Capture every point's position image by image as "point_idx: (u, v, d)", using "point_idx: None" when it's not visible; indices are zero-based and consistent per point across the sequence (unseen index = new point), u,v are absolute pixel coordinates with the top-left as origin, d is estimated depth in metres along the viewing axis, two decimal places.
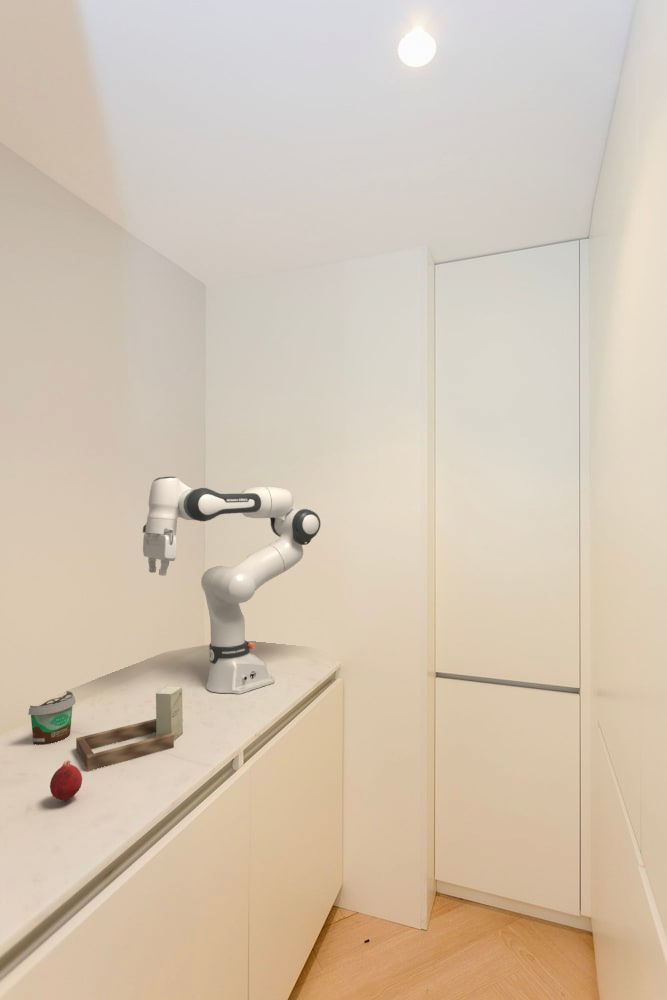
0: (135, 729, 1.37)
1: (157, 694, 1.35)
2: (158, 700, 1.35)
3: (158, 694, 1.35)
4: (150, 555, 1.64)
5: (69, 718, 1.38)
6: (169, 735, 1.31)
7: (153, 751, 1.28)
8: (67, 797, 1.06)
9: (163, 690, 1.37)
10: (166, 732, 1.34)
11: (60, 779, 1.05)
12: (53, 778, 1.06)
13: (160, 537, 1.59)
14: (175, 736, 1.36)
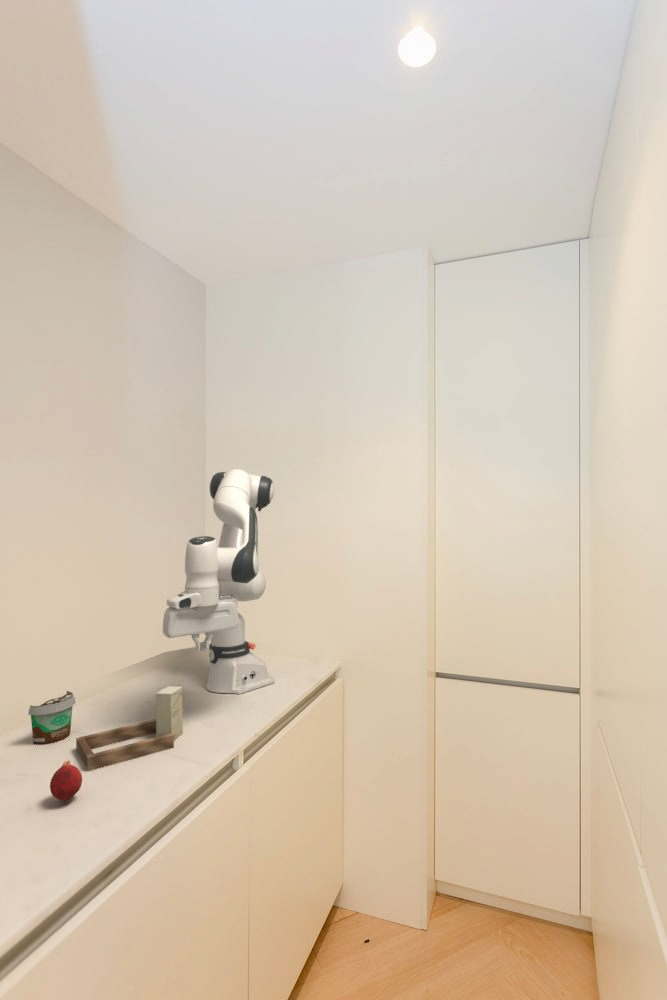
0: (135, 729, 1.37)
1: (157, 694, 1.35)
2: (158, 700, 1.35)
3: (158, 694, 1.35)
4: (196, 631, 1.40)
5: (69, 718, 1.38)
6: (169, 735, 1.31)
7: (153, 751, 1.28)
8: (67, 797, 1.06)
9: (163, 690, 1.37)
10: (166, 732, 1.34)
11: (60, 779, 1.05)
12: (53, 778, 1.06)
13: (223, 606, 1.45)
14: (175, 736, 1.36)
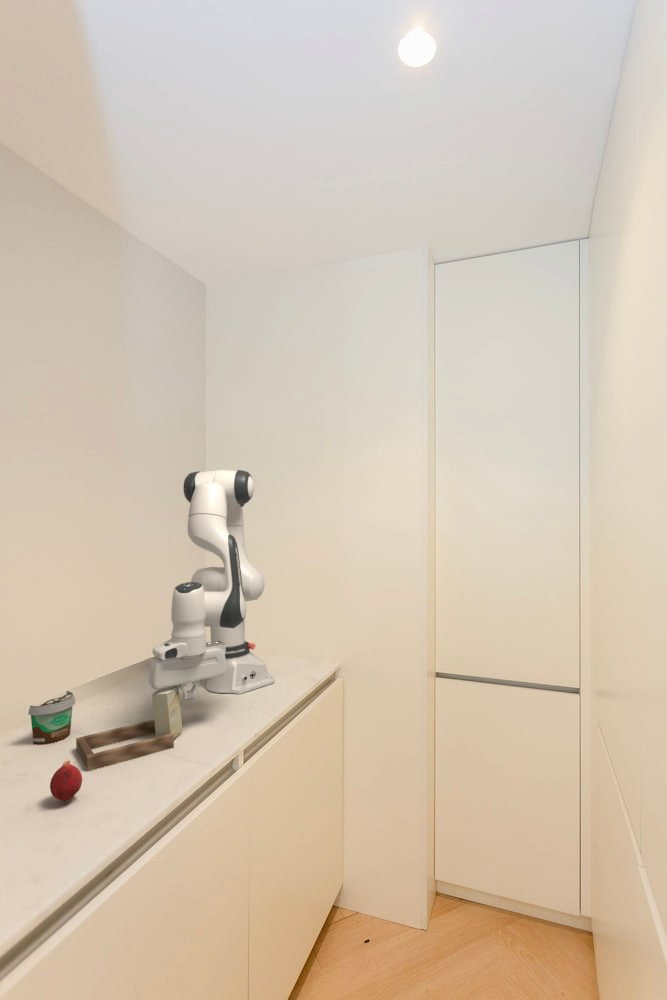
0: (135, 729, 1.37)
1: (153, 695, 1.34)
2: (155, 701, 1.34)
3: (154, 695, 1.34)
4: (182, 681, 1.38)
5: (69, 718, 1.38)
6: (169, 735, 1.31)
7: (153, 751, 1.28)
8: (67, 797, 1.06)
9: (159, 690, 1.37)
10: (165, 732, 1.34)
11: (60, 779, 1.05)
12: (53, 778, 1.06)
13: (210, 653, 1.42)
14: (174, 735, 1.36)
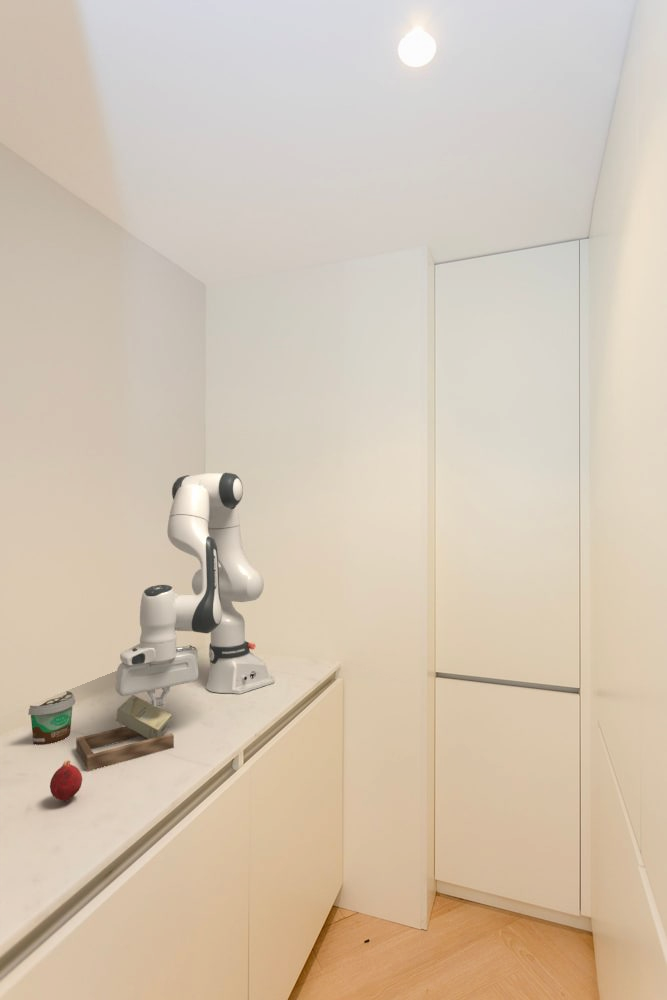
0: None
1: (116, 720, 1.36)
2: (121, 722, 1.36)
3: (116, 719, 1.36)
4: (151, 687, 1.33)
5: (69, 718, 1.38)
6: (169, 735, 1.31)
7: (153, 751, 1.28)
8: (67, 797, 1.06)
9: None
10: (148, 729, 1.34)
11: (60, 779, 1.05)
12: (53, 778, 1.06)
13: (181, 659, 1.37)
14: (159, 723, 1.35)
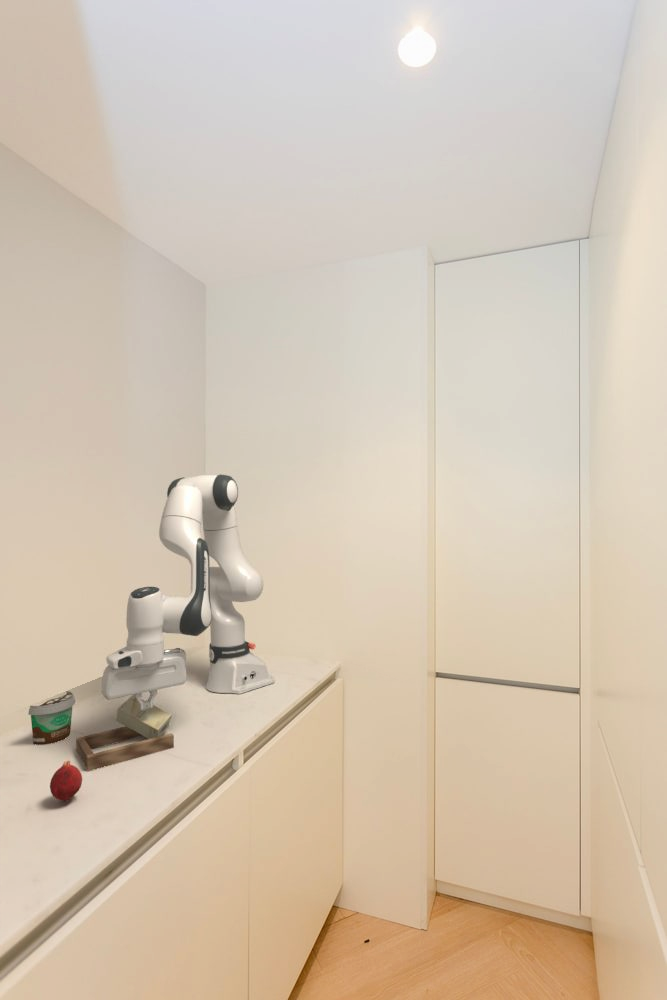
0: None
1: (116, 720, 1.36)
2: (121, 721, 1.36)
3: (116, 719, 1.36)
4: (138, 691, 1.31)
5: (69, 718, 1.38)
6: (169, 735, 1.31)
7: (153, 751, 1.28)
8: (67, 797, 1.06)
9: None
10: (148, 729, 1.34)
11: (60, 779, 1.05)
12: (53, 778, 1.06)
13: (168, 661, 1.36)
14: (159, 723, 1.35)
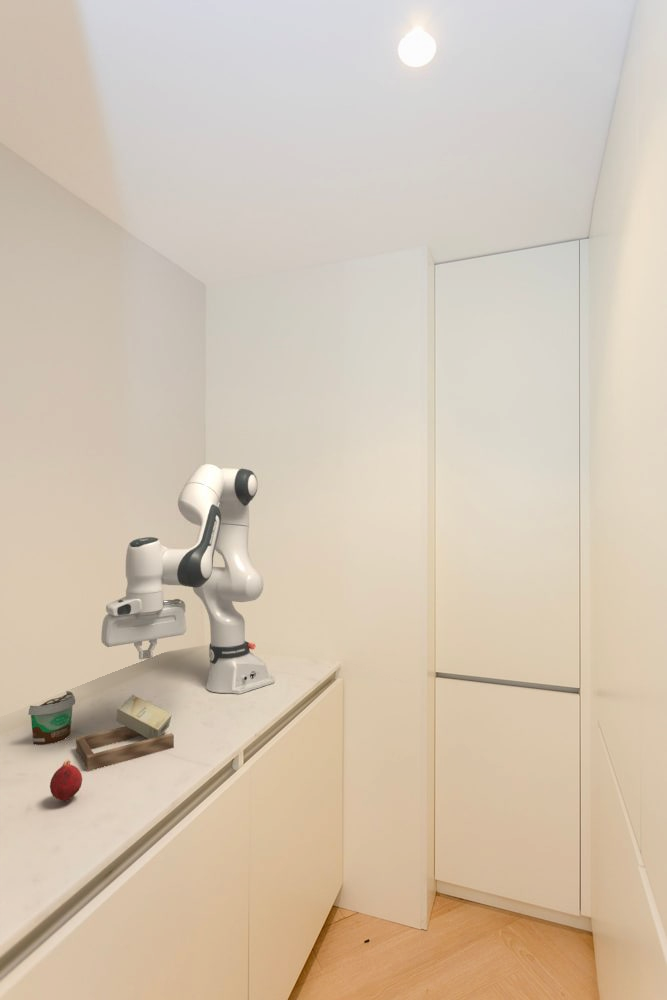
0: None
1: (116, 720, 1.36)
2: (121, 721, 1.36)
3: (116, 719, 1.36)
4: (137, 639, 1.31)
5: (69, 718, 1.38)
6: (169, 735, 1.31)
7: (153, 751, 1.28)
8: (67, 797, 1.06)
9: None
10: (148, 729, 1.34)
11: (60, 779, 1.05)
12: (53, 778, 1.06)
13: (168, 611, 1.36)
14: (159, 723, 1.35)
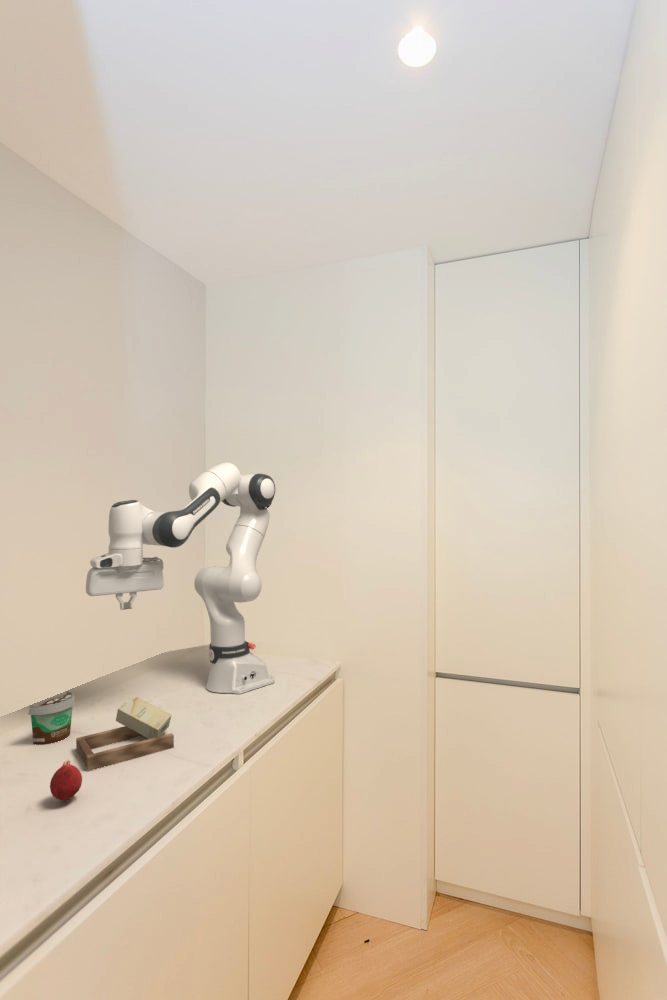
0: None
1: (116, 720, 1.36)
2: (121, 721, 1.36)
3: (116, 719, 1.36)
4: (118, 591, 1.45)
5: (69, 718, 1.38)
6: (169, 735, 1.31)
7: (153, 751, 1.28)
8: (67, 797, 1.06)
9: None
10: (148, 729, 1.34)
11: (60, 779, 1.05)
12: (53, 778, 1.06)
13: (147, 567, 1.50)
14: (159, 723, 1.35)
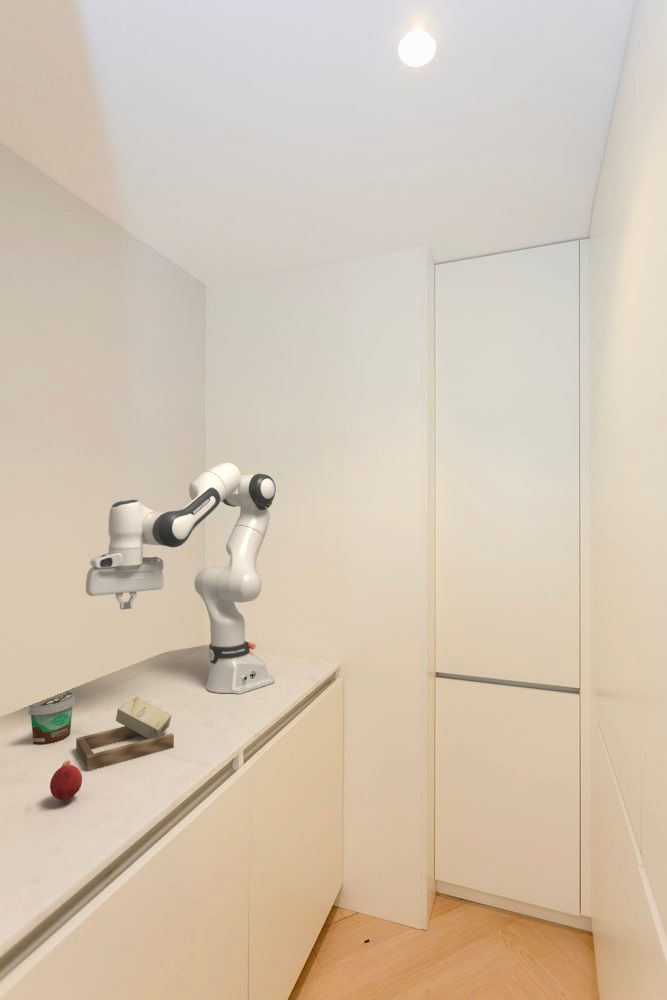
0: None
1: (116, 720, 1.36)
2: (121, 721, 1.36)
3: (116, 719, 1.36)
4: (118, 590, 1.45)
5: (69, 718, 1.38)
6: (169, 735, 1.31)
7: (153, 751, 1.28)
8: (67, 797, 1.06)
9: None
10: (148, 729, 1.34)
11: (60, 779, 1.05)
12: (53, 778, 1.06)
13: (147, 567, 1.50)
14: (159, 723, 1.35)
